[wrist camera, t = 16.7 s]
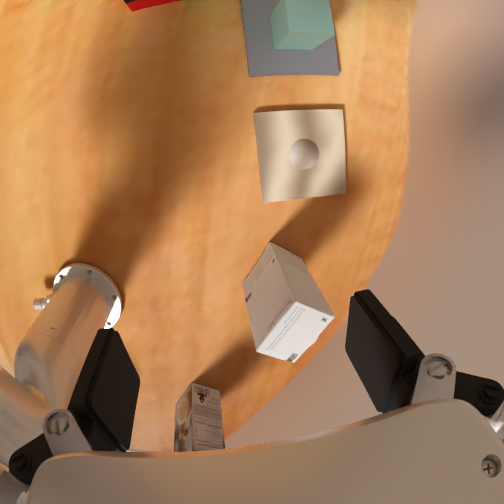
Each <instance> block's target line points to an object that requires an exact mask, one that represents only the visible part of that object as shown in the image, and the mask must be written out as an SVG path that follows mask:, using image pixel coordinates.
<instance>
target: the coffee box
mask: <svg viewBox="0 0 504 504" xmlns="http://www.w3.org/2000/svg"><path fill="white" fill-rule="evenodd" d="M217 449H225V444H224V434H223V423H222V412H221V400H220V391H219V390H216V389H213V388H209V387H206V386H202V385H199V384H196V383H191V384H190V386H189V387H188V388H187V390H186V391H185V393H184V394H183V396H182V397H181V398H180V400H179V401H178V403H177V404H176V412H175V437H174V452H189V451H205V450H217Z"/></svg>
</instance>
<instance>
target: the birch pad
mask: <svg viewBox="0 0 504 504" xmlns="http://www.w3.org/2000/svg"><path fill="white" fill-rule="evenodd" d="M253 117H254V127H255V136H256V146H257V156H258V166H259V177H260V187H261V197H262V202H263V203H267V202H276V201H284V200H293V199H301V198H311V197H320V196H330V195H340V194H346V159H345V137H344V120H343V109H320V110H288V111H271V112H258V113H253Z"/></svg>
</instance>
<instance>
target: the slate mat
mask: <svg viewBox="0 0 504 504" xmlns="http://www.w3.org/2000/svg"><path fill="white" fill-rule="evenodd" d="M279 1H280V0H240V2H241V11H242V19H243V27H244V36H245V44H246V53H247V62H248V71H249V77H255V76H274V75H333V76H337V75H339V66H338V58H337V50H336V43H335V36H332V37H331V38H329V39H328V40H326V41H325V42H323V43H321V44H320V45H318V46H317V47H315V48H314V49H312V50H295V49H275V50H274V44H273V36H272V28H271V20H270V16H271V15H272V13H273V11H274V10H275V8H276V6H277V5H278V3H279Z"/></svg>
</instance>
